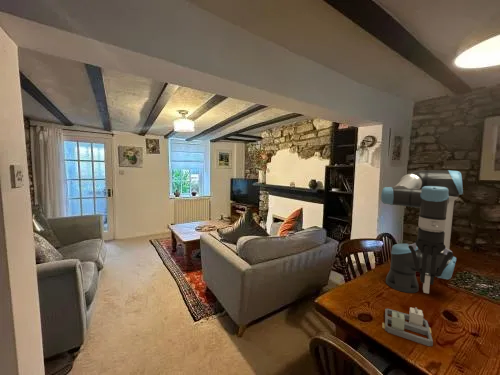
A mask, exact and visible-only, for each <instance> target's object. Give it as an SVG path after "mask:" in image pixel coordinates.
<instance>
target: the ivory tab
mask: <svg viewBox="0 0 500 375" xmlns="http://www.w3.org/2000/svg"><path fill="white" fill-rule="evenodd" d="M423 319H424V313H423V310H422V309H418V307H416V306H415V307H409V320H408V322H409V323H412V324H416V325H419V326H422V327H423V326H424V325H423Z"/></svg>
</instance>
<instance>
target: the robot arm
mask: <svg viewBox="0 0 500 375" xmlns="http://www.w3.org/2000/svg"><path fill="white" fill-rule="evenodd" d="M462 176H463V175H462V173H461V171H458V170H450V169H447V170H445V169H444V170H441V169H440V170H439V169H438V170H437V169H434V170H432V169H431V170H428V169H427V170H425V169H423V170H422V169H421V170H415V171H413V172H409V173H407V174H405V175H403V176H402V177H401V178H400V179H399V182H398V183H397V184H396V185H394V186H389V187H388V186H385V187H383V188H382V191H381V194H380V195H381V196H380V198H381V199H380V200H381V203H383V204H387V205H391V206H393V205H394V206H402V207H410V208H419V213H418V214H419V216H418V227H419V228H417V237H416V238H417V239H416V240H415V242H414V243H412V244H411V243H397V244H393V245H392V247H391V252H390V254H391V255H390V267H389V271H388V272H387V275H386V277H385V284H386V285H388V286H389V287H390V288H392V289H394V290H397V291H399V292H402V293H408V294H414V293H417V292H419V291H420V290H419V288H420V287H419V282H418V279H417V276H416V275H417V274H416V272H417V273H419V280H420V283H422V291H423V293H425V294H430V286H431V285H432V286H433V285H434V282H435V278H437V279H443V280H451V278H452V276H453V273H454V270H455V266H456V263H457V257H456V256H454V253H453V251H452V250H451V249H450V247H451V245H450V244H451V235H452V225H453V213H454V205H455V201H456V200H458V199H459V197H460V195H463V194H464V189H463V187H464V186H463V177H462Z"/></svg>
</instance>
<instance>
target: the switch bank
mask: <svg viewBox="0 0 500 375" xmlns="http://www.w3.org/2000/svg"><path fill="white" fill-rule="evenodd" d="M384 310H385V312H384V322H382V323H381V324H382V329H384V331H385V332H387V333H388V334H391V335H394V336H397V337H400V338H403V339H407V340H408V341H412V342H415V343H417V344H421V345H424V346H427V347H433V345H434V341H433V337H432V329H431V327H430V325H429V323H428V320H426V319H425V318H423V325H422V326H419V325H416V324H412V323H409V314H408V313H404V312H401V311H398V310H396V309H395V310H394V309H390V308H385V309H384ZM392 311H394V312H397V311H398V312H399V313H401V314H404V317H405V325H404V331H402V330H399V329H395V328H392V327H391V326H389V325H391V320H392ZM388 324H389V325H388ZM405 330H407V331H405ZM408 331H410V332H414V333H417V334H420V335H423V336H426V337H427V338H426V337H422V336H420V335H416V334H414V333H410V332H408Z"/></svg>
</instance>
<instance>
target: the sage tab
mask: <svg viewBox="0 0 500 375" xmlns="http://www.w3.org/2000/svg"><path fill="white" fill-rule="evenodd" d="M396 311H397V312H394V311H392V315H391V317H392V320H391V324H390V327H392V328H395V329H399V330H402V331H405V329H404V325H405V321H406V319H405V317H404V314H401V313H399V312H400V311H398V310H396Z"/></svg>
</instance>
